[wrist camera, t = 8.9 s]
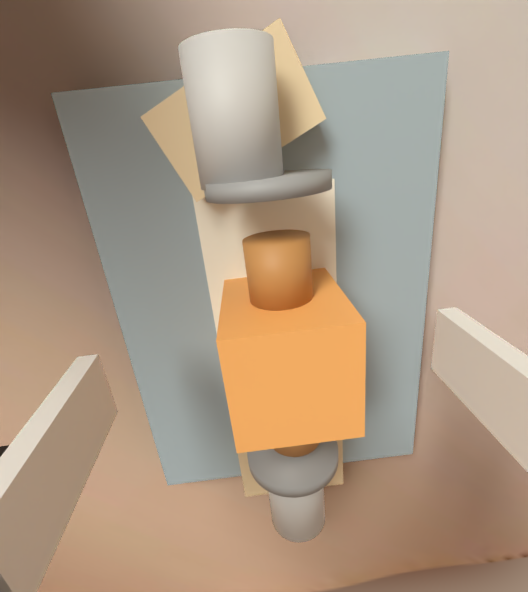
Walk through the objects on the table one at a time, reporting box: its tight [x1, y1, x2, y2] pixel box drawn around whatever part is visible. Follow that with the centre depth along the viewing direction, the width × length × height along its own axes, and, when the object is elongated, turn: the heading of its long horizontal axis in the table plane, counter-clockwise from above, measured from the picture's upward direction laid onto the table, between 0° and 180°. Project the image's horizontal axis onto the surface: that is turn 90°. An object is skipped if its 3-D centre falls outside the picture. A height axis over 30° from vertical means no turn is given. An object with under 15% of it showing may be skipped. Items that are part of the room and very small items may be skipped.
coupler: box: [216, 229, 366, 457], centre depth 15 cm, size 5×10×6 cm, turn 6°
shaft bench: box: [51, 18, 449, 542], centre depth 16 cm, size 16×23×7 cm
